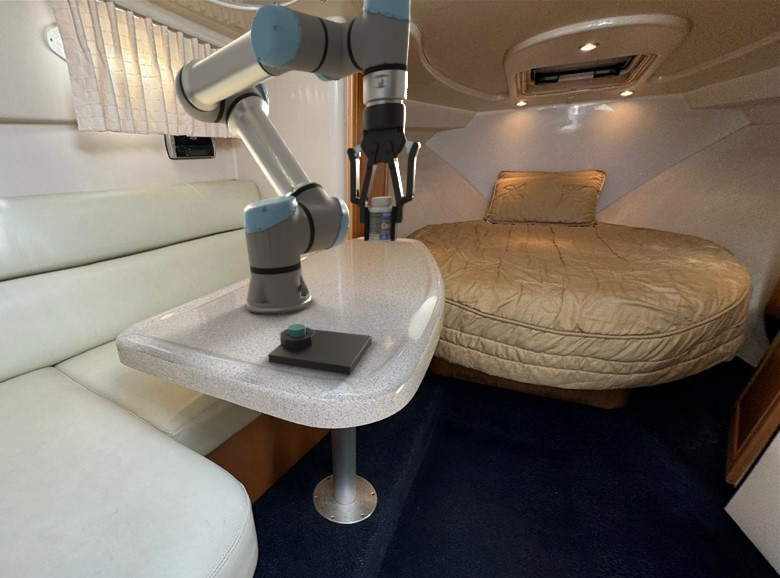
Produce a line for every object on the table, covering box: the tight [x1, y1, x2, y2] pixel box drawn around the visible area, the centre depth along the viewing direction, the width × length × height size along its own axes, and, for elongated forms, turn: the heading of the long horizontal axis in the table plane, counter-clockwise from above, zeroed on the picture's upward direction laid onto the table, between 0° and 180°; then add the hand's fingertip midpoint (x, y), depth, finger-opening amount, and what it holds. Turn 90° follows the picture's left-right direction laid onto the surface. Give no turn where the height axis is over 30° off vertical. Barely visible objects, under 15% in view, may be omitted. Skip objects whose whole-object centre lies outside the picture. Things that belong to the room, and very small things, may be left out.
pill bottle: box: [368, 196, 393, 244], centre depth 73 cm, size 5×5×8 cm
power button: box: [287, 323, 306, 338], centre depth 62 cm, size 3×3×2 cm
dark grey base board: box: [267, 326, 373, 376], centre depth 61 cm, size 14×12×3 cm
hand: (380, 239), depth 75 cm, fingers closed on pill bottle, 5 cm apart
